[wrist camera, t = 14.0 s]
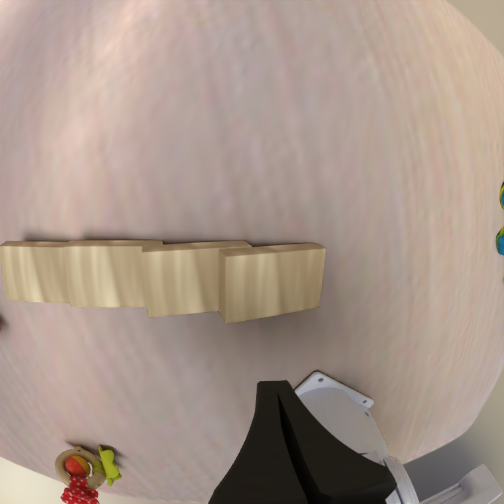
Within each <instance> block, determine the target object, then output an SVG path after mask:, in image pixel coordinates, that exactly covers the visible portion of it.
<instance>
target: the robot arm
mask: <svg viewBox="0 0 504 504" xmlns="http://www.w3.org/2000/svg"><path fill="white" fill-rule="evenodd" d="M320 378H322V379H320ZM319 379H320V380H319ZM373 403H374V401H373V400H372V399H371V398H369V397H367V396H365V395H363V394H361V393H359V392H357V391H355V390H353V389H351V388H349V387H347V386H345V385H343V384H341V383H339V382H337V381H335V380H334V379H332V378H330V377H328V376H326V375H324V374H322V373H320V372H315V373H313V374H312V375H311V376H310V377H309V378H308V379H306V380H305V381H304V382H303V383H302V384H301V385H300V386H299V387H298V388H297V389H296V390H293V388H292V387H291V385H290V383H289V382H288V381H287V380H284V381H260V382H258V383H257V394H256V406H255V414H254V417H253V420H252V424H251V427H250V430H249V432H248V435H247V437H246V440H245V442H244V444H243V446H242V448H241V450H240V452H239V454H238V456H237V458H236V460H235V461H234V463H233V465H232V466H231V468H230V469H229V471H228V472H227V474H226V475H225V477H224V478H223V480H222V481H221V482H220V483H219V485H218V486H217V487H216V489H215V490H214V493H213V495H212V497H211V499H210V501H209V503H208V504H490V503H492V502H493V501H494V500H495V499H496V498H498V497H499V496H500V495H501V494H502V493H503V492H502V490H501V488H500V487H499V485H498V484H497V482H496V481H495V479H494V478H493V476H492V475H491V473H490V472H489V470H488V469H487V467H486V466H485V464H482V465H480V466H479V467H477V468H475V469H474V470H472V471H471V472H469V473H468V474H467V475H466V476H464V477H463V479H461V480H460V482H459V483H457V484H455V485H454V486H452V487H450V488H448V489H446V490H444V491H442V492H440V493H439V494H437V495H435V496H432V497H430V498H428V499H426V500H424V501H422V502H420V503H419V501H418V498H417V495H416V492H415V490H414V487H413V485H412V483H411V481H410V478H409V476H408V474H407V472H406V471H405V469H404V467H403V465H402V464H401V462H400V461H399V459H398V458H394V457H391V456H388V447H387V444H386V442H385V440H384V438H383V436H382V434H381V432H380V430H379V428H378V426H377V424H376V422H375V421H374V419H373V417H372V415H371V413H370V411H369V409H368V408H370V407H371V406H372V405H373Z"/></svg>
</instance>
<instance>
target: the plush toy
mask: <svg viewBox="0 0 504 504" xmlns="http://www.w3.org/2000/svg"><path fill="white" fill-rule="evenodd" d="M500 202H501V206H502V207H503V209H504V185H503V187H502V188H501V191H500ZM496 239H497V250H498V253H499V254H501V255H504V227H503V228H502V230H501V232H500V234H499V235H497V237H496Z"/></svg>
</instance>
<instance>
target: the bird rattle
mask: <svg viewBox="0 0 504 504" xmlns="http://www.w3.org/2000/svg"><path fill="white" fill-rule="evenodd" d="M98 450H99V453H100V457H101V460H102V462H101V461H100V460H99V459H98V458H97V457H96V456H95V455H94V454H92V453H90V452H88V451H86V450H84V449H83V448H82V447H80V446H77V447H76V448H74V449H70V450H67V451H65V452H63V453H61V454H60V455H59V456H58V457H57V459H56V462H55V470H56V473H57V475H58V477H59V478H60V479H61V481H62V482H63V483H64V484H66V485H67V486H68V487H69V488H65V489H64V493H63V494H62V496H61V499H62V501H63V502H65V503H67V504H99V502H98V500H97V498H98V492H97V491H96V490H95V489H97V488H98V487H100V486H101V485H102V484H103V482H104V481H105V480H106V479H108V486H112V484H113V482H114V481H115V480H119V479H120V478H122V476H121V474H120V473H119V469H118V467H117V466H116V463H115V462H114V461H113V460H114V453H113V452H112V451H111V450H105V451H103V449H102V447H101V446H100V445H99V446H98ZM88 462H89V463H90V464H92V467H93V469H92V474H93V476H92V477H89V474H90V470H91V469H90V466H89V464H88ZM67 472H68V474H69V475H68V474H67ZM70 475H71V476H70ZM86 477H88V479H86Z"/></svg>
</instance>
